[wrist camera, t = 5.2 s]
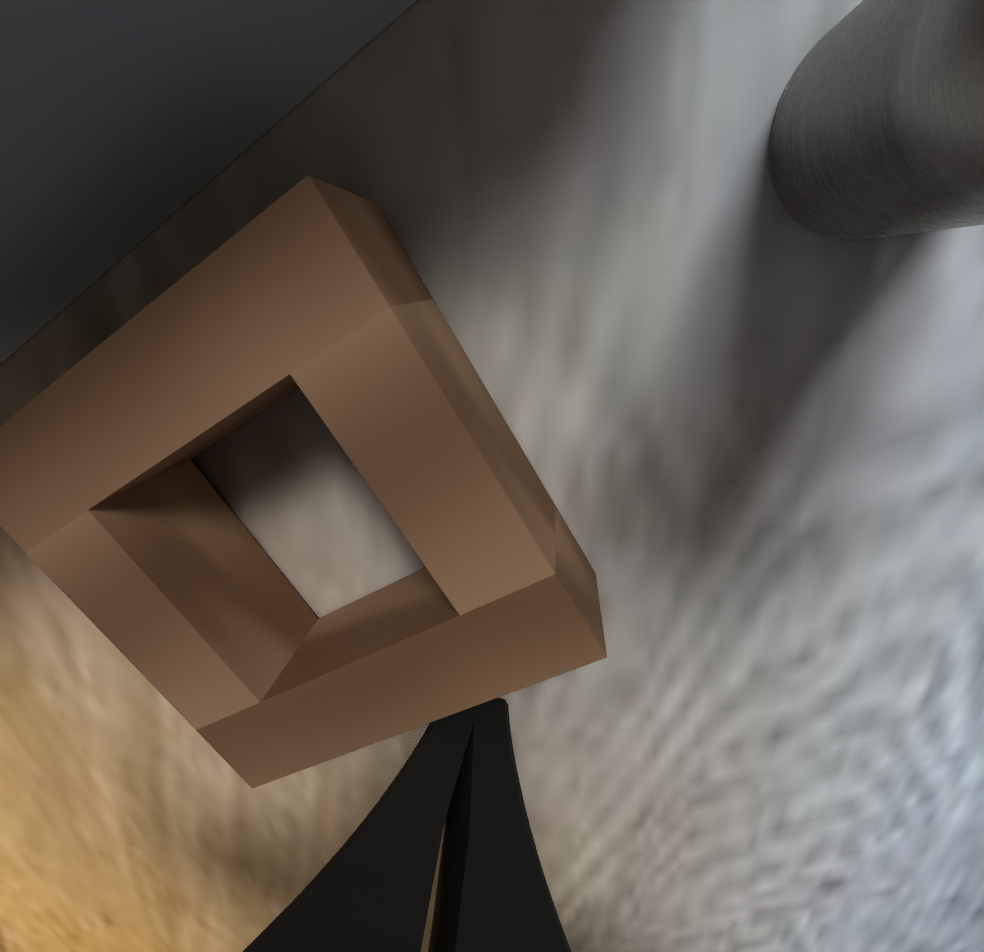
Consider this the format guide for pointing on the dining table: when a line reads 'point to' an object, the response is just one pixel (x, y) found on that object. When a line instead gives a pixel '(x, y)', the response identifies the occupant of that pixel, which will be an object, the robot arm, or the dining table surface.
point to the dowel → (886, 123)
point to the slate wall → (139, 121)
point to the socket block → (233, 551)
